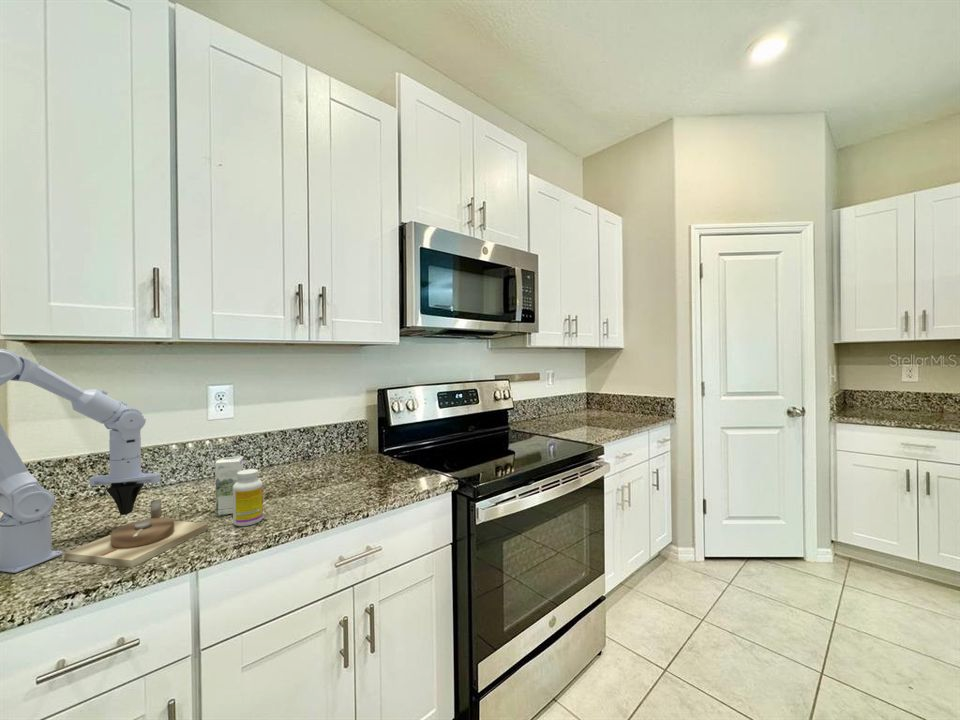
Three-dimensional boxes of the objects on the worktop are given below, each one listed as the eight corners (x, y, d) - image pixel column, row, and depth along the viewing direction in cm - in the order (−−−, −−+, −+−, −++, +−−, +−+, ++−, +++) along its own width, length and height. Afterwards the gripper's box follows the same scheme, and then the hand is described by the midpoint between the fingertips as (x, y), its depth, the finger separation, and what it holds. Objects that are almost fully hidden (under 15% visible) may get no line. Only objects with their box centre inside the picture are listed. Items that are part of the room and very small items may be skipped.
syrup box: (244, 506, 114) (243, 455, 113) (240, 514, 108) (239, 460, 108) (220, 509, 111) (219, 457, 111) (215, 517, 106) (214, 462, 106)
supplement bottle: (267, 521, 103) (266, 471, 103) (238, 529, 98) (237, 476, 98) (257, 514, 108) (256, 466, 108) (229, 522, 103) (228, 471, 103)
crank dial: (166, 541, 88) (166, 517, 88) (101, 551, 84) (100, 526, 84) (184, 516, 102) (184, 496, 102) (129, 524, 97) (128, 502, 97)
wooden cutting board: (64, 560, 84) (64, 552, 84) (150, 524, 101) (150, 518, 101) (131, 567, 80) (131, 559, 80) (208, 529, 98) (208, 523, 98)
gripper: (168, 452, 103) (169, 505, 103) (106, 454, 101) (106, 508, 101) (149, 459, 96) (149, 516, 96) (81, 461, 94) (82, 520, 94)
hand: (126, 513), depth 98 cm, fingers closed
